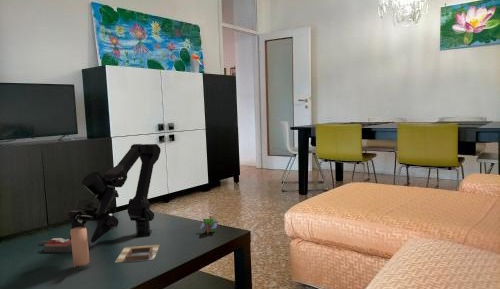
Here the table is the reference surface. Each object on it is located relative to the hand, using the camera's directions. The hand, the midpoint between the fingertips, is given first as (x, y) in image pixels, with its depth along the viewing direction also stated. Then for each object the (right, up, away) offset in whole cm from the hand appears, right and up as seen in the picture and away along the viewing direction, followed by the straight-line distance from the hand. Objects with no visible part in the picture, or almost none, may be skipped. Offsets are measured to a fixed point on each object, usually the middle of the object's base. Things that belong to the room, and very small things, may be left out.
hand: (81, 241), depth 127 cm
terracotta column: (0, -9, 0) cm, 9 cm away
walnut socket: (+19, -6, +4) cm, 20 cm away
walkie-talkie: (-18, -8, +20) cm, 28 cm away
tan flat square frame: (+18, -7, +7) cm, 20 cm away
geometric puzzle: (+41, -4, +29) cm, 50 cm away
